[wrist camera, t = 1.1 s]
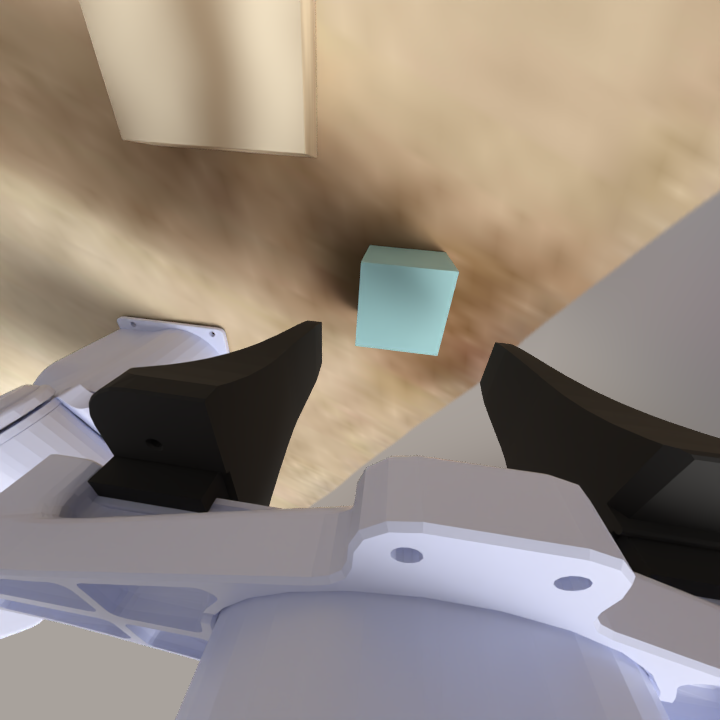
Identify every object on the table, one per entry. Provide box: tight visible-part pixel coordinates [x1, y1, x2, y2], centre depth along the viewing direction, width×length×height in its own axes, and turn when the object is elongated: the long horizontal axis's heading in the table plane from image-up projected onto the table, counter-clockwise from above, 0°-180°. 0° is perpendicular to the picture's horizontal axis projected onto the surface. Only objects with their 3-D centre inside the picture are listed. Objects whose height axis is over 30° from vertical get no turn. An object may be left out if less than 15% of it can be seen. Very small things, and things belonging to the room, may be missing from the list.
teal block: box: [355, 245, 459, 356], centre depth 18 cm, size 5×5×5 cm
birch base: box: [79, 0, 317, 158], centre depth 13 cm, size 10×10×2 cm
